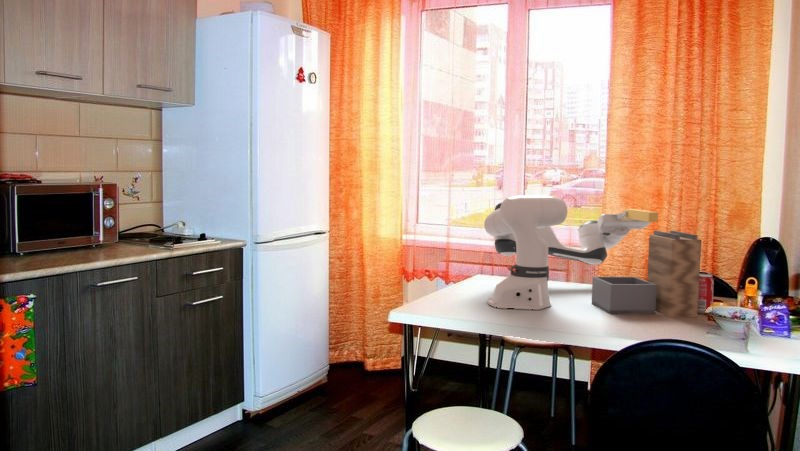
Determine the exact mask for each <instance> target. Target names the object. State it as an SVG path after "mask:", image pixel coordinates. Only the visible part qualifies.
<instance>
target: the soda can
mask: <svg viewBox="0 0 800 451" xmlns="http://www.w3.org/2000/svg"><path fill="white" fill-rule="evenodd" d="M714 281H715V280H714V278H713V275H712V274H710V273H700V274H699V291H698V308H697V314H705V311H706V309H707V308H708V307H709V306H710V305H711V304H712V303H713V304H714V289H715V288H714V287H715V286H714V285H715V282H714ZM705 315H706V314H705Z"/></svg>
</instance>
